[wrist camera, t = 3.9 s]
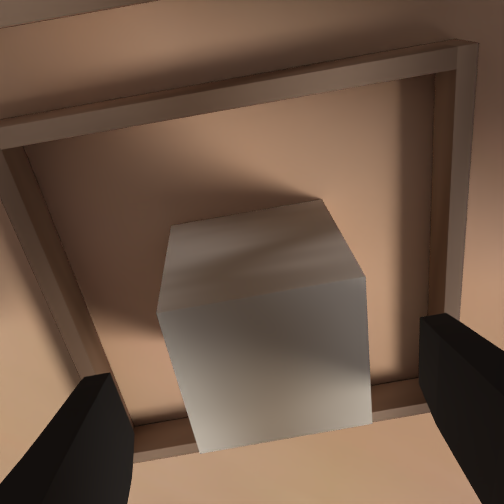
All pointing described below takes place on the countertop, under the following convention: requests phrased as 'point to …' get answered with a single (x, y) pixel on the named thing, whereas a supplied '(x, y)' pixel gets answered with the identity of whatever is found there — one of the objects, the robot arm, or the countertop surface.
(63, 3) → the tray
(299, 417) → the cube
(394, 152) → the countertop surface
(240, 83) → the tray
